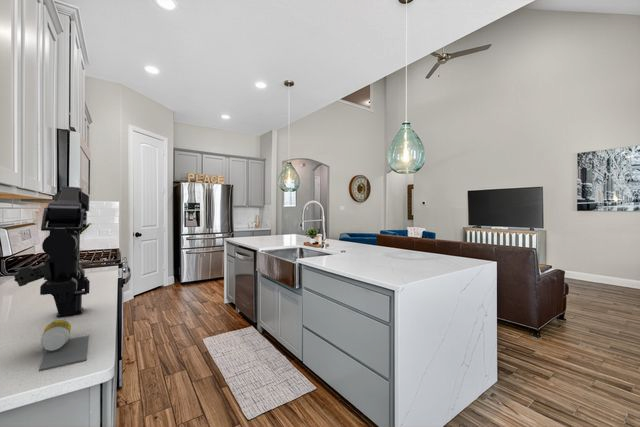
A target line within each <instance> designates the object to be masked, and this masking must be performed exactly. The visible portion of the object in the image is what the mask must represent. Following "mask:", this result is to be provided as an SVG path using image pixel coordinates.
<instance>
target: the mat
mask: <svg viewBox="0 0 640 427" xmlns="http://www.w3.org/2000/svg"><path fill="white" fill-rule="evenodd" d="M89 337H90V336H89V335H84V336H78V337H73V338H69V339H68V341H67V342H66V343H65V344H64V345H63V346H62V347H60V348H59V349H57V350H52V351H50V350H46V349H45V352H44V355H43V357H42V360H41V363H40V366H39V367H38V372H43V371H46V370H47V371H48V370H51V369H55V368H59V367H60V368H61V367H65V366H68V365H74V364H78V363H83V362H87V360H88V359H87V358H88V357H87V356H88V348H89V339H90V338H89Z"/></svg>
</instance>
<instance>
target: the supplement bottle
mask: <svg viewBox="0 0 640 427" xmlns="http://www.w3.org/2000/svg"><path fill="white" fill-rule="evenodd" d="M71 330H72V325H71V324H70V322H69V321H67V320H65V319H55V320H53V321H51V322H49V323H48V324H47V325H46V326H45V327H44V330H43V333H42V334H41V337H40V341H39V342H40V345H41V346H42V348H43V349H44V350H45V351H46V350H50V351H52V350H57V349H59V348H60V347H62V346H63V345H64V344H65V343H66V342H67V341H68V339H70V335H71Z"/></svg>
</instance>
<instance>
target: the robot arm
mask: <svg viewBox="0 0 640 427" xmlns="http://www.w3.org/2000/svg"><path fill="white" fill-rule="evenodd" d="M42 212H43V213H42V219H41V226H40V231H42V232H45V231H46V232H49V234H48V236H46V237H45V239H44V240H43V242H42V244H41V248H42V251H43V253H45V254H46V255H47V258H45V259H44V263H41V264H38V265H37V264H36V265H34V266H30V265H26V266H24V267H23V268H22V267H21V268H19V269H18V271H16V272H15V273H14V274H13V277H14V281H15V283H17V285H18V286H19V287H23V286H26V285H28V284H29V283H32V282H36V281H38V280H41V279H43V281H44V282H43V283H42V284H41V285H40V286H39V289H40V290H39V291H40V292H39V295H40V296H45V295H51V296H52V297H53V300H54V304H55V307H56V310H57V314H56V317H57V318H60V317H61V318H62V317H67V316H68V317H69V316H75V315H81V314H83V311H84V307H83V306H82V305H83V304H82V302H83V300H82V298H83V296H86V295H87V294H90V280H89V278H88V276H86V275H85V274H86V271H85V269H84V268H83V267H82V266H81V265H80V254H81V253H80V252H81V251H80V248H81V247H80V245H81V231H83V230H84V228H87V219H88V212H90V196H89V195H88V194H86V193H85V192H83V189H82V188H80V187H77V186H65V185H64V186H60V187H59V191H58V192H56V193H55V194H54V200H53V201H50V202H49V203H48V205H47V207H44V208H43V211H42Z"/></svg>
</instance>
